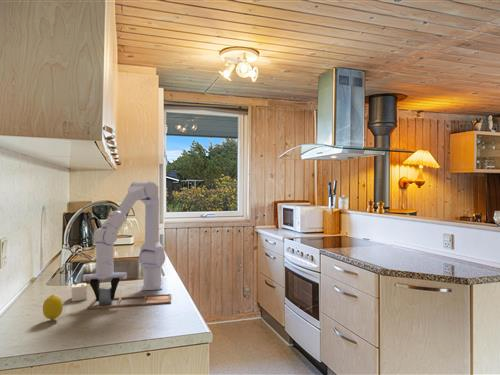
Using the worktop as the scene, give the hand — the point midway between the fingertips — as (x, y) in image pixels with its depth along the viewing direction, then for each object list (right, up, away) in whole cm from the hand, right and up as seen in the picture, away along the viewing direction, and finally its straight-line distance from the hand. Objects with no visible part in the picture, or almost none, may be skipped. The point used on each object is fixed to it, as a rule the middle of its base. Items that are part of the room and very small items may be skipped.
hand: (105, 299), depth 132 cm
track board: (+9, -1, +2) cm, 9 cm away
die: (-13, -2, +7) cm, 14 cm away
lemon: (-10, -2, -16) cm, 19 cm away
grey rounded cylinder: (0, -1, 0) cm, 1 cm away
